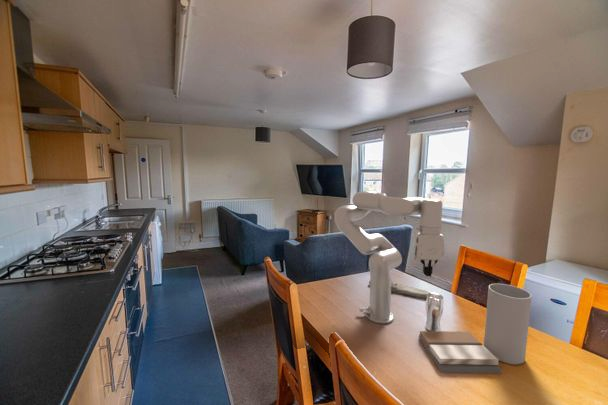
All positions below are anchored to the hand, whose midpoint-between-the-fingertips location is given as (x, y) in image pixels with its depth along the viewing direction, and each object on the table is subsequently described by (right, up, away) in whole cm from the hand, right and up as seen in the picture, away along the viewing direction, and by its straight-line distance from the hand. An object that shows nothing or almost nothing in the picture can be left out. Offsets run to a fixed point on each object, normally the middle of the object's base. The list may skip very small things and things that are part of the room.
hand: (427, 275), depth 106 cm
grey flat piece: (+8, -28, -7) cm, 30 cm away
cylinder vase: (+26, -28, -6) cm, 39 cm away
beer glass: (+7, -26, +10) cm, 29 cm away
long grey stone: (+5, -23, +47) cm, 52 cm away
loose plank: (+8, -27, -11) cm, 30 cm away
